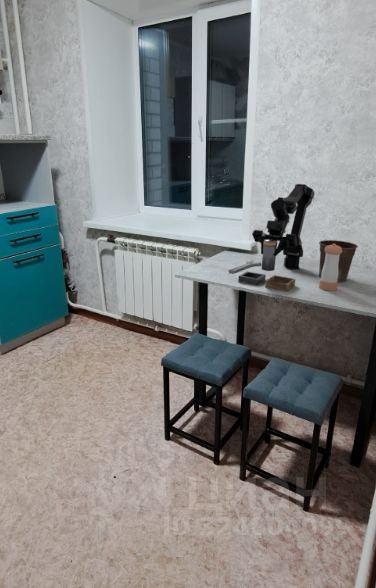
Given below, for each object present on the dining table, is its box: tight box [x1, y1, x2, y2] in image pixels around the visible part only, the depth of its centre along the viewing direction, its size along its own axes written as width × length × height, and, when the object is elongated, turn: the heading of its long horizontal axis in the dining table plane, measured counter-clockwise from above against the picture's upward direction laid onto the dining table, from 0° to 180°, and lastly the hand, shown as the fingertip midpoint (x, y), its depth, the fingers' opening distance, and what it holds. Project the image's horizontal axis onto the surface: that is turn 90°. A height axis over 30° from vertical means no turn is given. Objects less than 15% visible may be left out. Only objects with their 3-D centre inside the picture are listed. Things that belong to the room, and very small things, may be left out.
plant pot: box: [318, 239, 359, 283], centre depth 180 cm, size 16×16×16 cm
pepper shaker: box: [318, 244, 342, 292], centre depth 166 cm, size 7×7×19 cm
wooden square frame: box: [264, 274, 296, 292], centre depth 169 cm, size 10×10×3 cm
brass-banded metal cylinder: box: [261, 239, 278, 272], centre depth 168 cm, size 6×6×12 cm
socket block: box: [238, 271, 267, 286], centre depth 176 cm, size 9×9×2 cm
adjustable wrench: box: [227, 260, 262, 274], centre depth 197 cm, size 25×6×2 cm, turn 135°
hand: (268, 254), depth 167 cm, fingers closed on brass-banded metal cylinder, 5 cm apart
